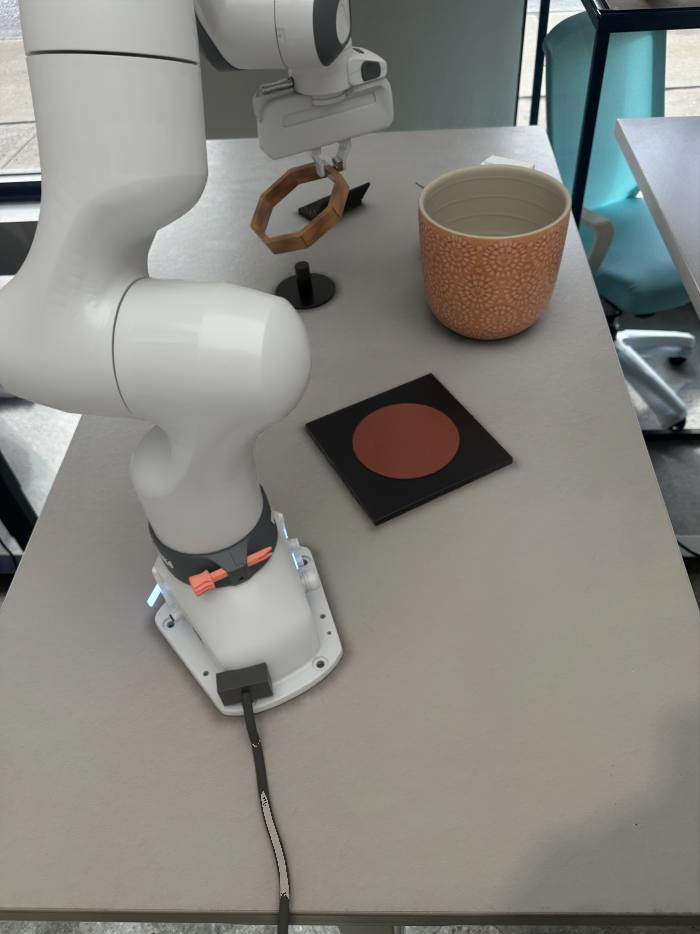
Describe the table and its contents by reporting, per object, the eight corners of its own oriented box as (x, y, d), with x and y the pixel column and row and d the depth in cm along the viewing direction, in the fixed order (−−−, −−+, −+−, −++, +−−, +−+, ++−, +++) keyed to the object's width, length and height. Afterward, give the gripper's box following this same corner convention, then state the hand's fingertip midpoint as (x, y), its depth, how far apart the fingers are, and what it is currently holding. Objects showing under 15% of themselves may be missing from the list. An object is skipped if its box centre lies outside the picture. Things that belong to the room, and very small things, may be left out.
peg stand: (346, 296, 119) (343, 269, 115) (290, 316, 117) (285, 289, 113) (319, 268, 125) (316, 242, 121) (266, 287, 122) (260, 260, 119)
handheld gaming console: (334, 182, 141) (349, 151, 132) (359, 211, 143) (376, 183, 133) (292, 214, 138) (305, 185, 128) (319, 243, 139) (333, 217, 129)
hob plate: (512, 463, 93) (513, 456, 92) (375, 526, 88) (375, 520, 87) (431, 378, 105) (431, 371, 104) (305, 429, 99) (304, 422, 99)
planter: (398, 339, 111) (393, 221, 97) (449, 269, 123) (451, 154, 108) (529, 372, 105) (545, 250, 90) (570, 294, 116) (590, 176, 102)
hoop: (363, 199, 106) (355, 186, 104) (286, 268, 107) (277, 256, 105) (319, 161, 115) (311, 148, 113) (248, 225, 116) (239, 214, 114)
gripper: (259, 95, 94) (276, 200, 104) (397, 59, 99) (400, 162, 110) (241, 80, 97) (259, 183, 108) (375, 47, 103) (380, 147, 114)
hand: (331, 172), depth 109 cm, fingers closed on hoop, 1 cm apart
